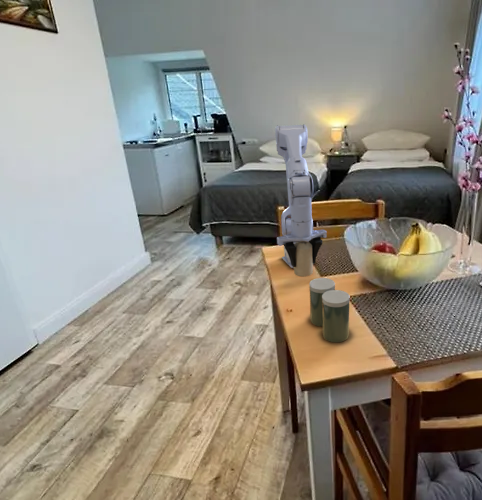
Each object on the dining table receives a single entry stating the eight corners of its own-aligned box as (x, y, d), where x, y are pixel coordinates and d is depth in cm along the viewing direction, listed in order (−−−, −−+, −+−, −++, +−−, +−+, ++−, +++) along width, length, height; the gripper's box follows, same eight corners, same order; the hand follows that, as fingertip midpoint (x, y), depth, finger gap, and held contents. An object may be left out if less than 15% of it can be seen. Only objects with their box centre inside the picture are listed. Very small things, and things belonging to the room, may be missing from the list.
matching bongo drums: (306, 316, 96) (305, 280, 92) (328, 311, 98) (328, 275, 94) (329, 345, 85) (329, 305, 81) (354, 338, 87) (354, 299, 83)
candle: (305, 278, 110) (304, 246, 106) (290, 274, 113) (288, 242, 109) (316, 271, 114) (315, 240, 110) (301, 267, 117) (300, 236, 113)
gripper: (282, 227, 101) (284, 274, 106) (331, 219, 106) (331, 264, 111) (273, 220, 107) (276, 264, 113) (320, 213, 112) (321, 255, 118)
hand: (303, 263), depth 112 cm, fingers closed on candle, 5 cm apart
